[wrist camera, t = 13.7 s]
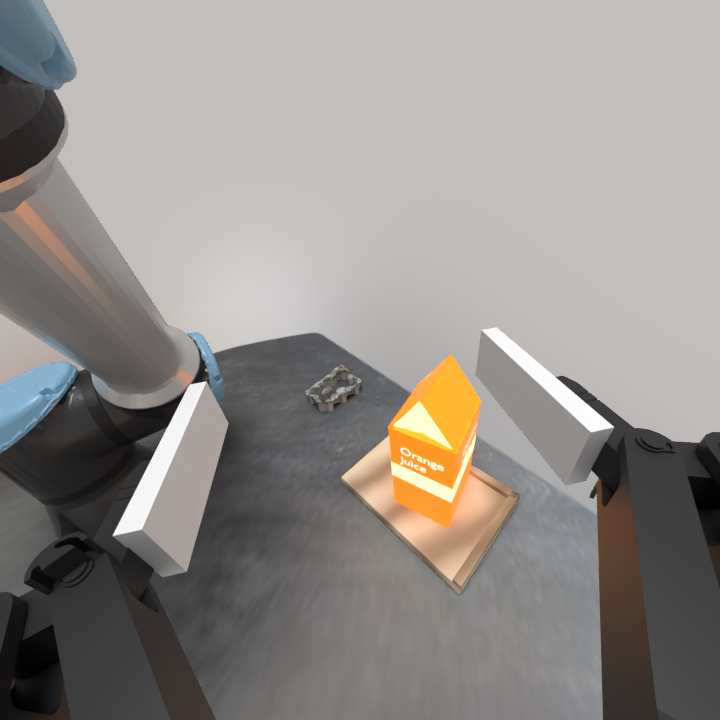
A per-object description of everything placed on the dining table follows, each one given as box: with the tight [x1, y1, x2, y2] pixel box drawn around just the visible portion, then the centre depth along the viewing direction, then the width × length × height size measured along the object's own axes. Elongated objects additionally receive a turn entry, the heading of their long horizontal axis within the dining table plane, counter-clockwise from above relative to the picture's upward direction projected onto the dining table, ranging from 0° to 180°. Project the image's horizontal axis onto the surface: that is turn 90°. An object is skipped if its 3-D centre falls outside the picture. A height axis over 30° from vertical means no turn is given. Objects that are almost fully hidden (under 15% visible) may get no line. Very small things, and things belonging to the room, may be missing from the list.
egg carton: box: [305, 365, 361, 412], centre depth 62 cm, size 11×8×4 cm
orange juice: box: [388, 355, 481, 528], centre depth 36 cm, size 8×9×20 cm
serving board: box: [341, 436, 520, 595], centre depth 42 cm, size 20×14×2 cm
